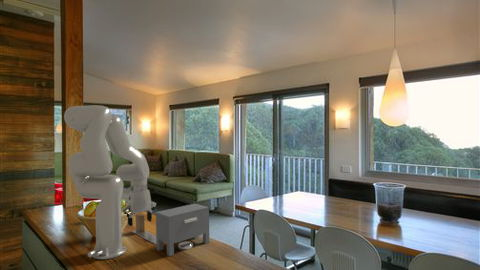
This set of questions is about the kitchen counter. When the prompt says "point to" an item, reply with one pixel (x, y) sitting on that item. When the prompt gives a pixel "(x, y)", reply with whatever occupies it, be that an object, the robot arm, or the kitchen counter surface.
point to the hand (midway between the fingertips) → (140, 223)
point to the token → (185, 245)
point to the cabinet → (181, 225)
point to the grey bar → (143, 229)
